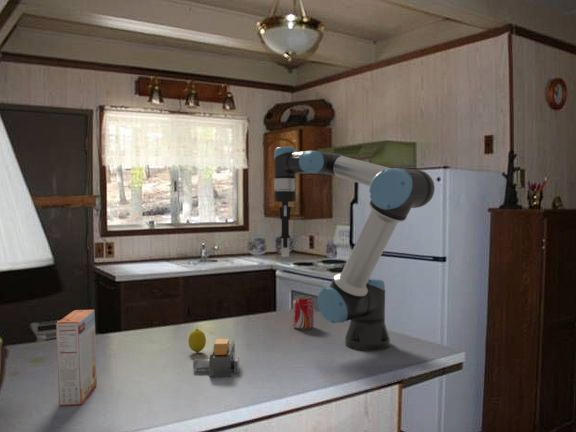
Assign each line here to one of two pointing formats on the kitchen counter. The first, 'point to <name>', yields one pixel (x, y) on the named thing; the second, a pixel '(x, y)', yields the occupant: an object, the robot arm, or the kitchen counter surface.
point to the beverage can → (303, 312)
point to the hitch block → (221, 363)
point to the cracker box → (76, 357)
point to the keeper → (221, 347)
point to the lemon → (197, 340)
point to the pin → (204, 364)
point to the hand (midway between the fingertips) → (285, 256)
